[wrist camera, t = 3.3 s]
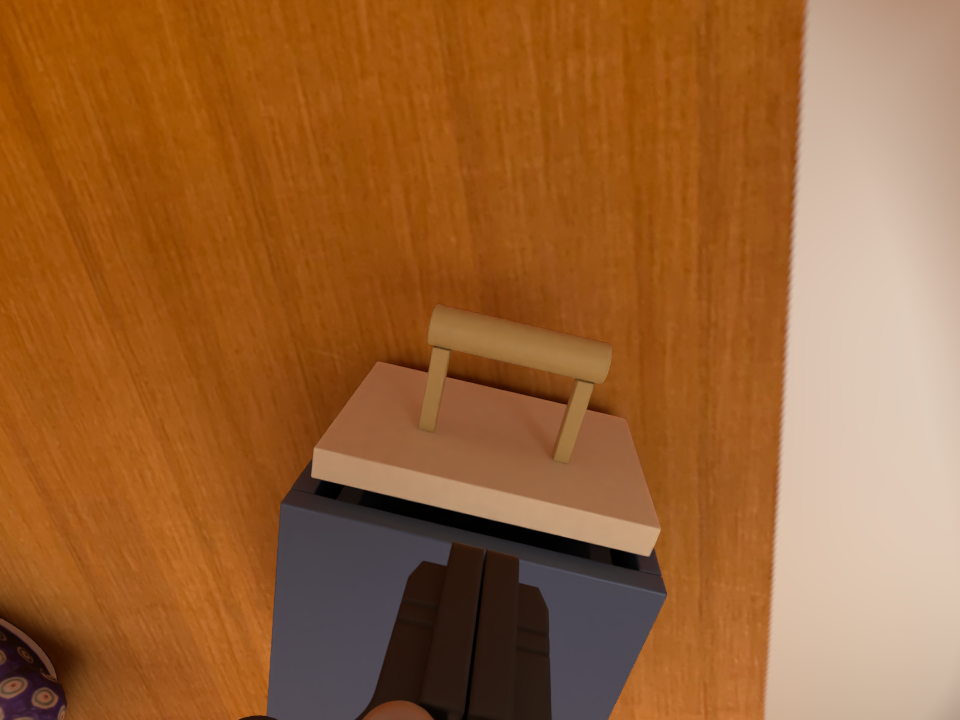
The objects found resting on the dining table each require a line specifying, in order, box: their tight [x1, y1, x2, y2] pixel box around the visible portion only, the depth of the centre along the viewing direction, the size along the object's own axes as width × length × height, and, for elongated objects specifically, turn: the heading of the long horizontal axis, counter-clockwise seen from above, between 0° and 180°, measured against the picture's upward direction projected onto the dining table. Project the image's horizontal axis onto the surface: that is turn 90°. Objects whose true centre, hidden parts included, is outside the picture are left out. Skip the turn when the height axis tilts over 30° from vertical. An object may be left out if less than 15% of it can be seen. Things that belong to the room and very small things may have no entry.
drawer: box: [311, 304, 661, 565], centre depth 22 cm, size 18×11×7 cm, turn 168°
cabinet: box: [267, 458, 667, 720], centre depth 24 cm, size 15×13×9 cm
